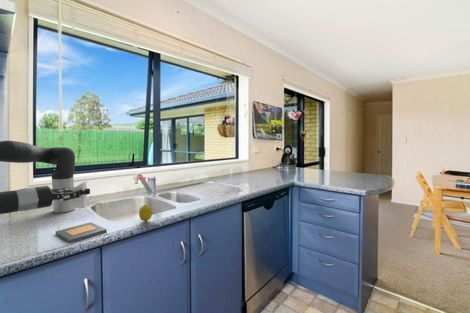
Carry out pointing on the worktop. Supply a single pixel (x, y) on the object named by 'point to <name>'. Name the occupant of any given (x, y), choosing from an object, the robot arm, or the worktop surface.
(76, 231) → the mounting plate
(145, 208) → the lemon
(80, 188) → the white wedge bracket
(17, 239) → the worktop surface
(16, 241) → the worktop surface
